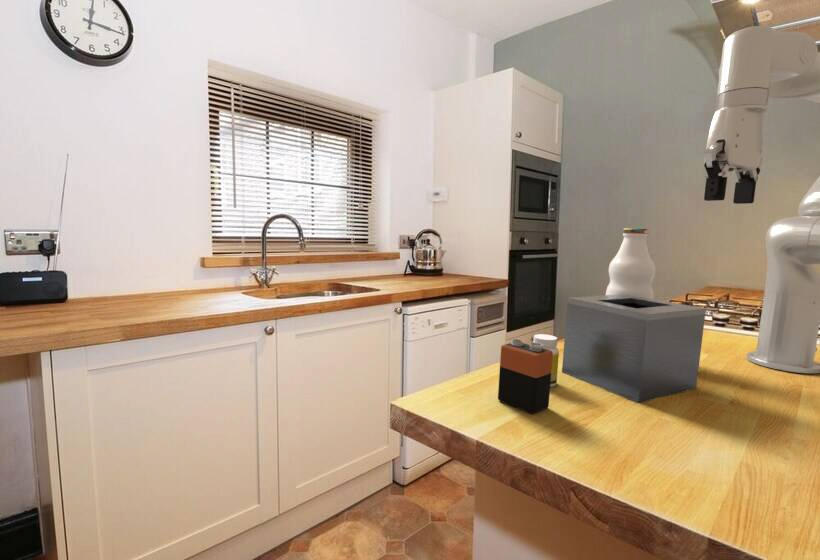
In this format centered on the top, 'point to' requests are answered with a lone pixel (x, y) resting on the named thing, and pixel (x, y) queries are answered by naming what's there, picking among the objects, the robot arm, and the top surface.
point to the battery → (525, 375)
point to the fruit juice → (632, 266)
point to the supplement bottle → (551, 344)
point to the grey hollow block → (633, 345)
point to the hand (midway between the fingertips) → (728, 201)
